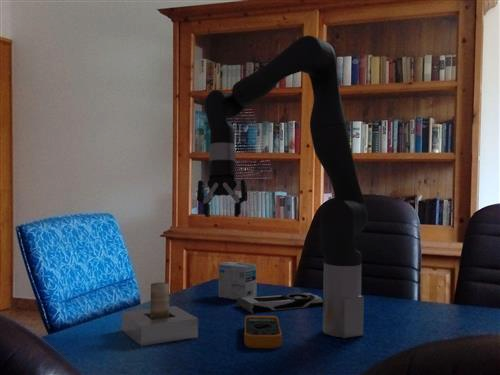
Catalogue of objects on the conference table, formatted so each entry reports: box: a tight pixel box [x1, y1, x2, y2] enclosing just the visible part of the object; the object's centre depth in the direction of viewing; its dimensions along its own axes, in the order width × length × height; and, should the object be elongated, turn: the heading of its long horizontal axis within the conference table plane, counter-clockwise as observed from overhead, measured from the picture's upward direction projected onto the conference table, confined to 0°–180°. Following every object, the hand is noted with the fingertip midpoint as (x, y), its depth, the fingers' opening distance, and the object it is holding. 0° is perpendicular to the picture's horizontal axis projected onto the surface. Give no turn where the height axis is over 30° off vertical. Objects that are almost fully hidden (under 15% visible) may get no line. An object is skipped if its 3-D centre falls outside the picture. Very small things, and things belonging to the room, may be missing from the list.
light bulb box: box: [217, 261, 258, 301], centre depth 173 cm, size 11×7×11 cm, turn 58°
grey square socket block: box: [121, 305, 199, 347], centre depth 133 cm, size 14×14×4 cm
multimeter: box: [243, 315, 283, 349], centre depth 131 cm, size 9×18×3 cm, turn 0°
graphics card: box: [236, 292, 323, 315], centre depth 162 cm, size 10×3×25 cm
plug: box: [150, 282, 170, 320], centre depth 133 cm, size 4×4×12 cm
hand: (222, 216), depth 156 cm, fingers open, 8 cm apart
